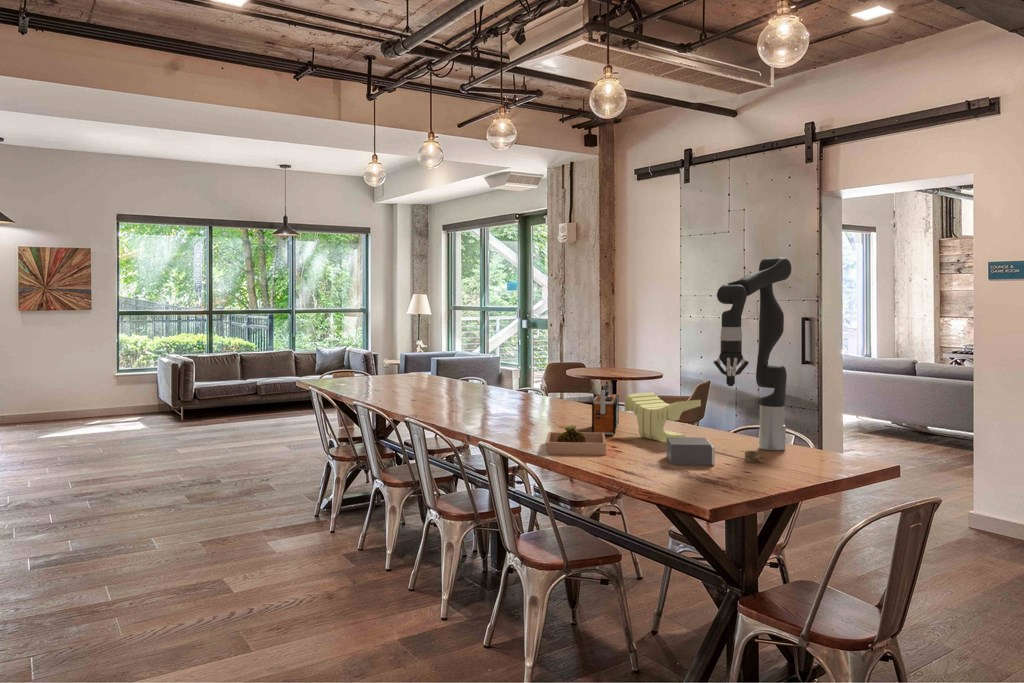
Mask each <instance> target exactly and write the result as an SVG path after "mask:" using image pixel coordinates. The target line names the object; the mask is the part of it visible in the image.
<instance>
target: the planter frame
mask: <svg viewBox="0 0 1024 683" xmlns="http://www.w3.org/2000/svg"><path fill="white" fill-rule="evenodd" d="M562 432H563V431H562ZM562 432H560V431H554V432H553V431H548V432H547V437H546V440H545V454H546V453H547V454H546V455H581V454H583V455H585V456H589V455H591V456H593V455H596V456H601V455H602V456H603V455H604V456H606V455H607V441H606V435H605V433H592V432H581V433H582V434H583V435H584V436H585V439H586V440H585V443H575V442H557V438H558V437H559V435H560V434H562Z"/></svg>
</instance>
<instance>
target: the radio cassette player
mask: <svg viewBox="0 0 1024 683" xmlns="http://www.w3.org/2000/svg"><path fill="white" fill-rule="evenodd" d="M600 392H601V393H599V394H596V396H595V397H594V399H592V402H591V433H605V436H614V435H615V434H616V429H617V427H618V425H619V419H620V418H619V414H620V413H619V409H620V408H619V406H620V404H619V403H620V402H619V398H620V396H619V394H611V392H610V383H605V385H604V386H603V388H602V389H601V391H600Z"/></svg>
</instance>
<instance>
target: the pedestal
mask: <svg viewBox="0 0 1024 683" xmlns="http://www.w3.org/2000/svg"><path fill="white" fill-rule="evenodd" d="M744 462H745V463H749V464H758V463H759V462H760V451H757V450H744Z"/></svg>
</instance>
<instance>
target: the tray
mask: <svg viewBox="0 0 1024 683" xmlns="http://www.w3.org/2000/svg"><path fill="white" fill-rule="evenodd" d="M706 440H707V441H708V442H709V443H710V444H711V466H713V465H715V464H716V463H715V462H716V461H715V455H716V453H715V452H716V448H715V446H714V445H713V444H712V443H711V441H710V440H708V439H706Z"/></svg>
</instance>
